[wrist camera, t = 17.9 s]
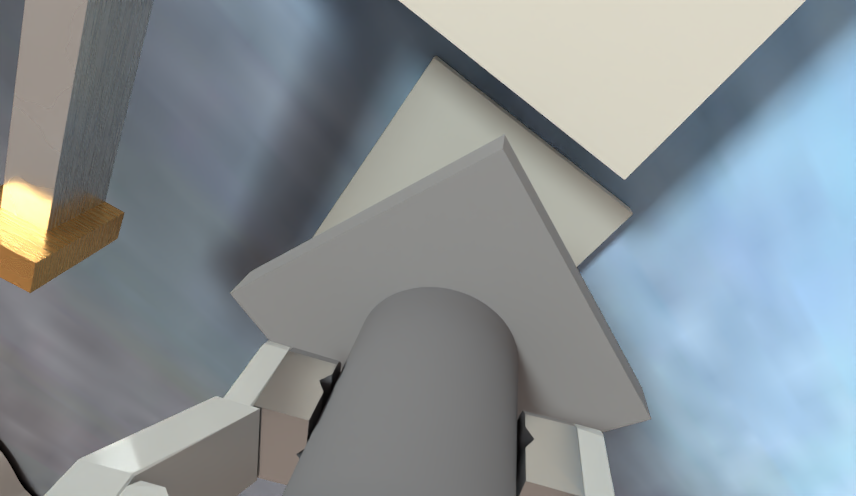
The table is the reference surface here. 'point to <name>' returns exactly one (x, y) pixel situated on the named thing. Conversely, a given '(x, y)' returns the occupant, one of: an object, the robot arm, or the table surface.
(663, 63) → the socket
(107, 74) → the ball-tipped lever rod
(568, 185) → the mat
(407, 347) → the plug
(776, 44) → the table surface
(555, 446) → the robot arm
